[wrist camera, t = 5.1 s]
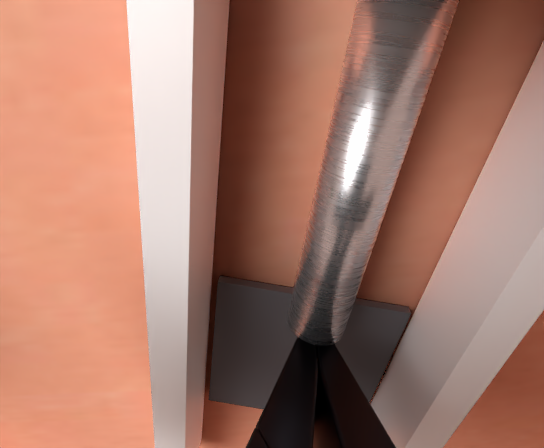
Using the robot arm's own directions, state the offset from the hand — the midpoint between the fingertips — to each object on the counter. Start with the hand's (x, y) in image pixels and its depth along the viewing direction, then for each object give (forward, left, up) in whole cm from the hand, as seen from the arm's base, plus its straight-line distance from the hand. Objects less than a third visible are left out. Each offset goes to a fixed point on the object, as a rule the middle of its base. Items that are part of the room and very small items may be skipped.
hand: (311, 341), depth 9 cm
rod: (+5, -1, -1) cm, 5 cm away
